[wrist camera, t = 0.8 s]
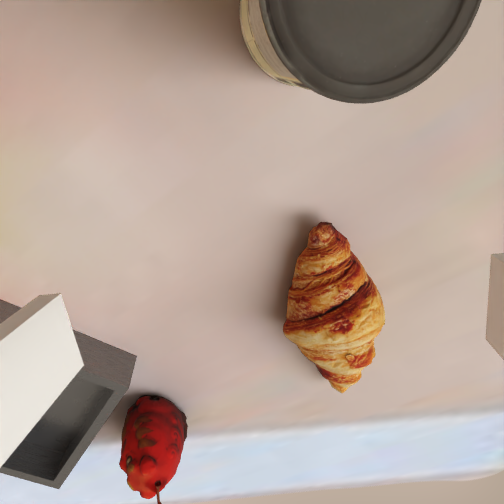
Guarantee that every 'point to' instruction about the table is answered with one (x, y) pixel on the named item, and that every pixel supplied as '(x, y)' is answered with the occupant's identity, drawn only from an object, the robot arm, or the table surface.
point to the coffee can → (354, 43)
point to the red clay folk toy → (152, 444)
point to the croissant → (333, 308)
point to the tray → (71, 412)
